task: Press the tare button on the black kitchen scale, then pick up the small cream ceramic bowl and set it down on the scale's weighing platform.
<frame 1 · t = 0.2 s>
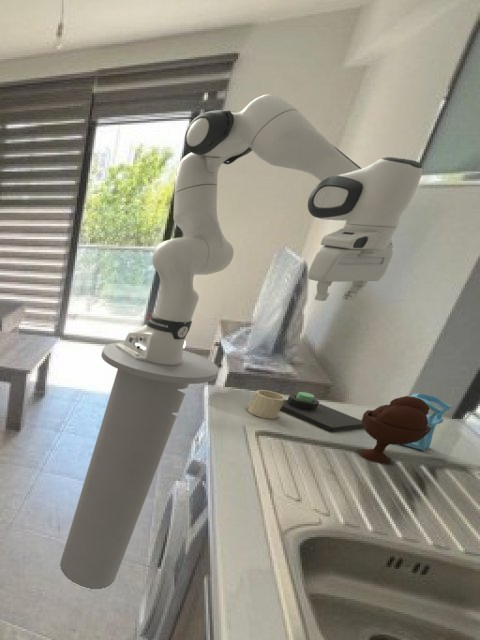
hand: (334, 299, 116), 30 cm above the table, tool pointing down, fingers open, 8 cm apart
scale: (315, 415, 129), on the table
tare button: (305, 397, 132), point 3 cm above the table, slide at 0.1 cm
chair: (403, 442, 118), on the table
ice cream bowl: (373, 458, 110), on the table
cream bowl: (262, 413, 129), on the table
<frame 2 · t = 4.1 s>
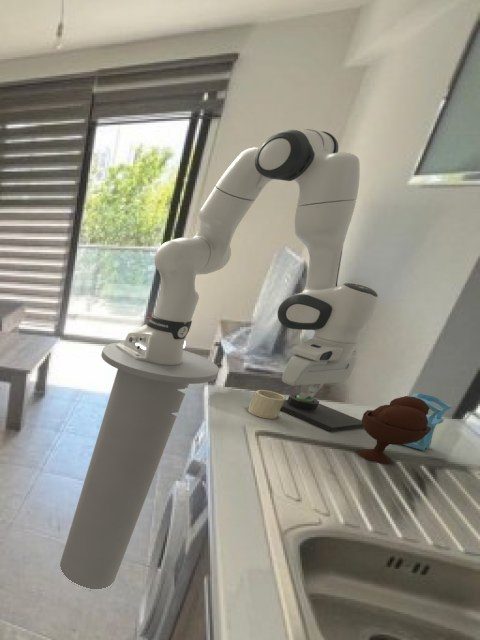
hand: (305, 397, 131), 3 cm above the table, tool pointing down, fingers closed, pressing on tare button
tare button: (303, 400, 132), point 3 cm above the table, slide at -0.8 cm, touching gripper
everything else where it was.
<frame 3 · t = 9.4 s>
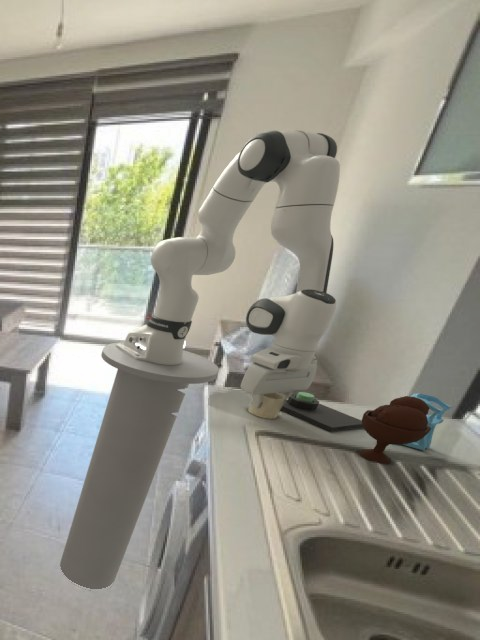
hand: (266, 406, 128), 2 cm above the table, tool pointing down, fingers closed on cream bowl, 6 cm apart
tare button: (305, 397, 132), point 3 cm above the table, slide at 0.1 cm
cream bowl: (262, 413, 129), on the table, touching gripper
everything else where it was.
when the fingers open (3 cm above the table, at t = 16.2 s): cream bowl stays where it is, resting on scale.
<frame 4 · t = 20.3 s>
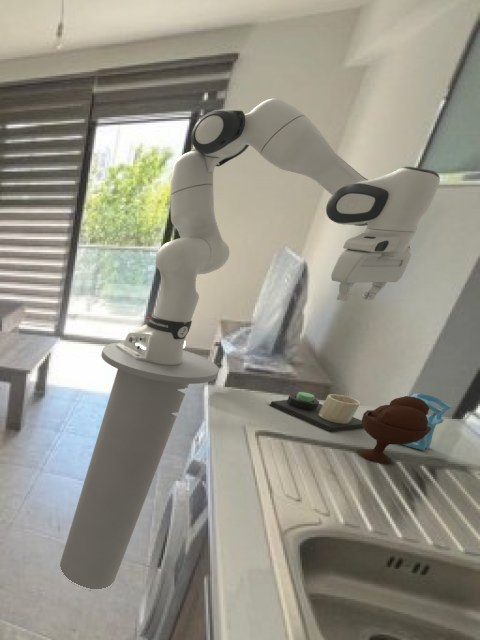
hand: (354, 299, 124), 29 cm above the table, tool pointing down, fingers open, 8 cm apart
cream bowl: (333, 418, 126), point 1 cm above the table, touching scale
everything else where it was.
at the end: tare button pushed in 1.1 cm at the most during the clip, back to where it started at the end; cream bowl inside the target area on the scale (0.1 cm from its centre), point 1.2 cm above the scale's base; cream bowl touching scale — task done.
